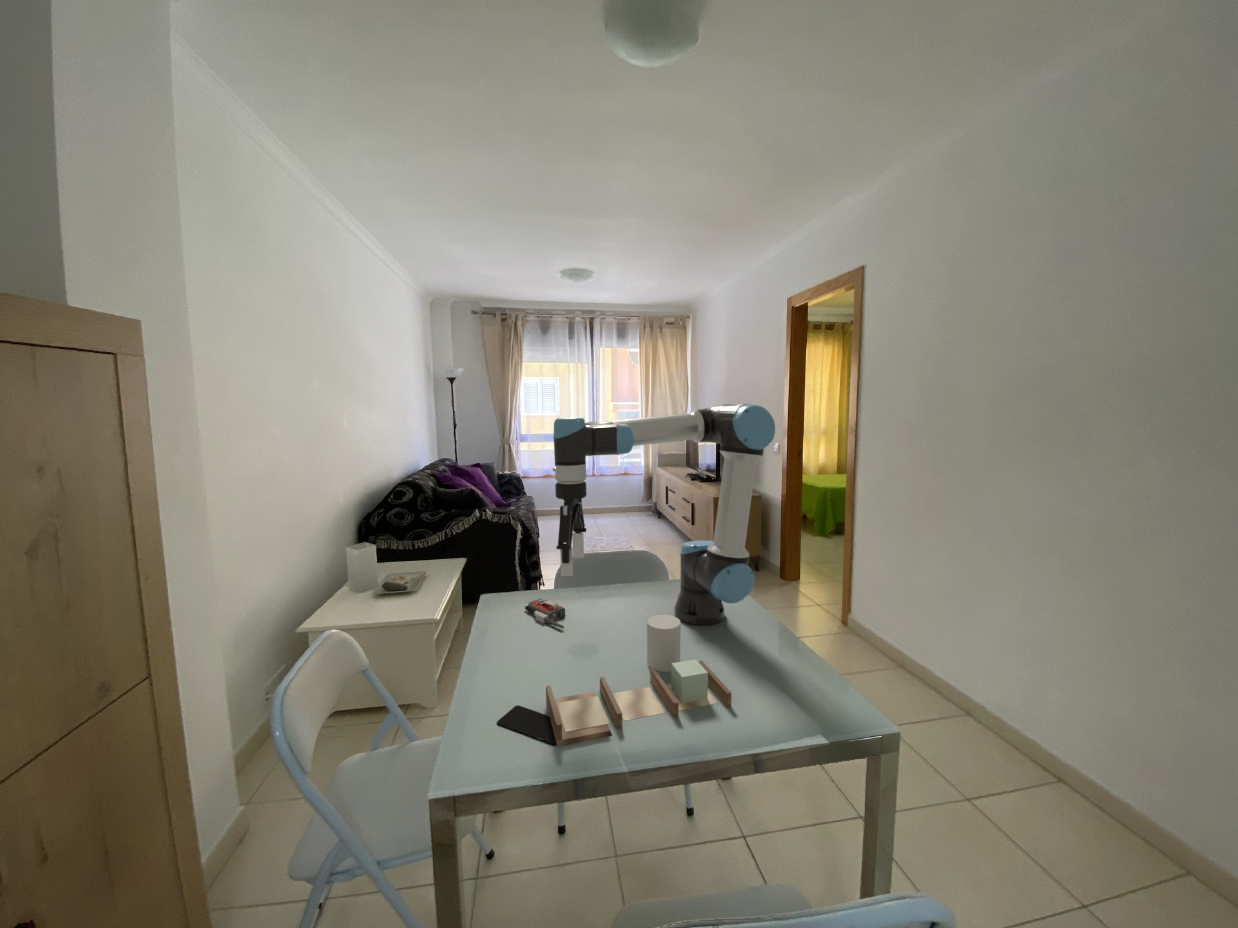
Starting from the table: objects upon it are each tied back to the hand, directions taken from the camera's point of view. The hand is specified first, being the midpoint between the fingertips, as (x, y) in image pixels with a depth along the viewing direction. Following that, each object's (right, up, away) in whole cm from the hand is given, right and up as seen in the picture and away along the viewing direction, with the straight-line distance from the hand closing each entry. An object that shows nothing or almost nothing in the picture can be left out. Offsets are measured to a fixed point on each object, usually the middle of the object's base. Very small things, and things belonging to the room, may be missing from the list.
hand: (573, 566), depth 126 cm
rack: (+15, -27, -17) cm, 35 cm away
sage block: (+27, -25, -14) cm, 39 cm away
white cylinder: (+22, -25, 0) cm, 34 cm away
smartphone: (-6, -28, -22) cm, 37 cm away
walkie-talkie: (-10, -22, +30) cm, 38 cm away
